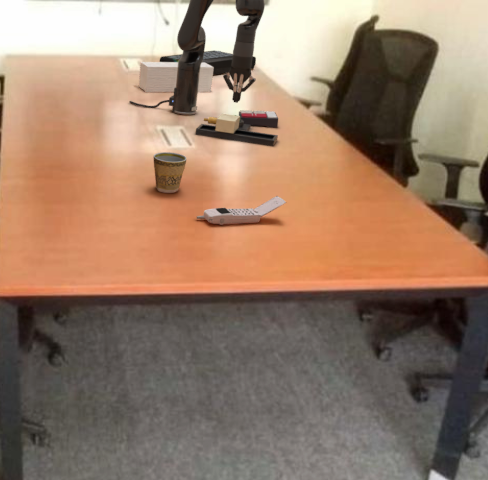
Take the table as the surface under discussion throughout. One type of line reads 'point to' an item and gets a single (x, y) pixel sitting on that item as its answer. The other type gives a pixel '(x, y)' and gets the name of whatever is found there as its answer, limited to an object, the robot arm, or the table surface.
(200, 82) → the stack of papers
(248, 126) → the button box
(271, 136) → the rail
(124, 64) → the table surface
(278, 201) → the mobile phone
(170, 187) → the ceramic cup
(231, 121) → the nozzle carriage
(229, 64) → the computer keyboard
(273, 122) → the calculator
